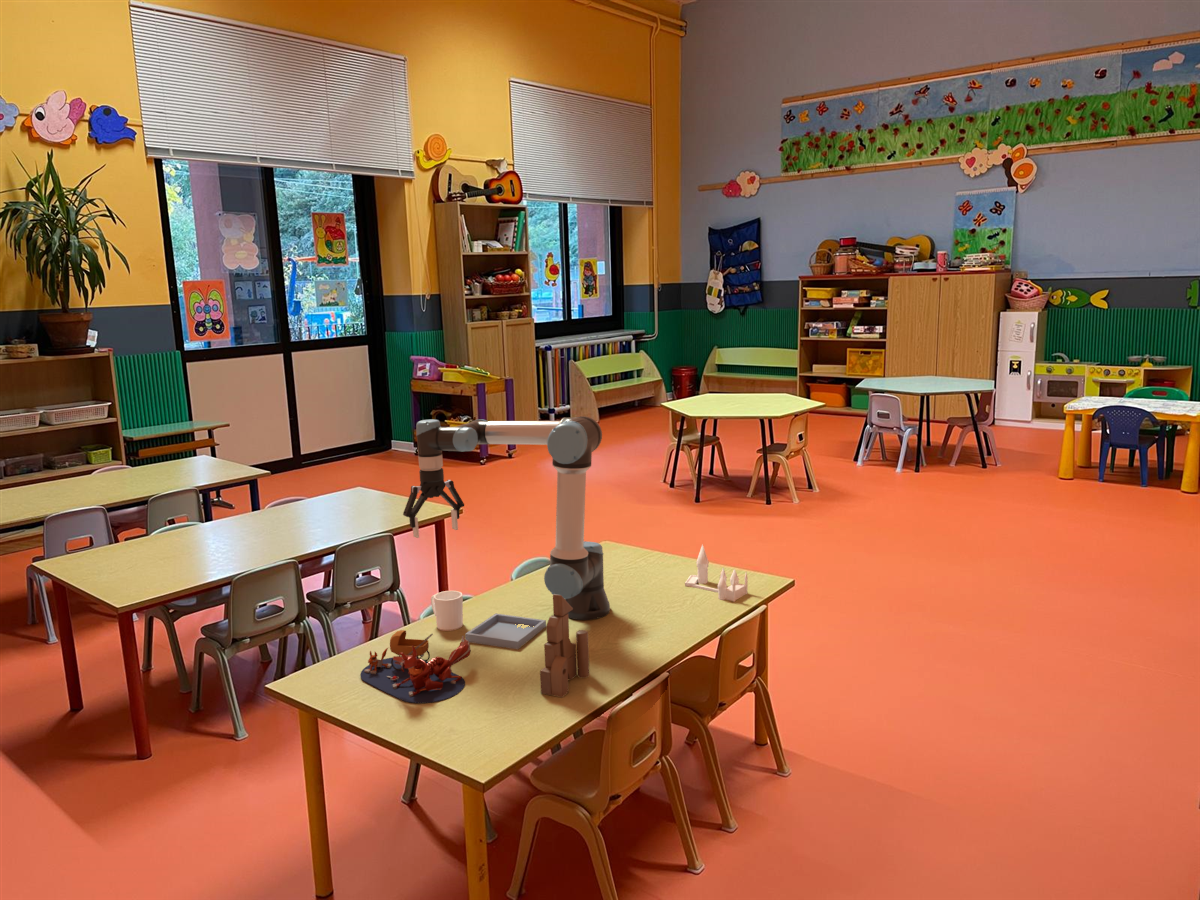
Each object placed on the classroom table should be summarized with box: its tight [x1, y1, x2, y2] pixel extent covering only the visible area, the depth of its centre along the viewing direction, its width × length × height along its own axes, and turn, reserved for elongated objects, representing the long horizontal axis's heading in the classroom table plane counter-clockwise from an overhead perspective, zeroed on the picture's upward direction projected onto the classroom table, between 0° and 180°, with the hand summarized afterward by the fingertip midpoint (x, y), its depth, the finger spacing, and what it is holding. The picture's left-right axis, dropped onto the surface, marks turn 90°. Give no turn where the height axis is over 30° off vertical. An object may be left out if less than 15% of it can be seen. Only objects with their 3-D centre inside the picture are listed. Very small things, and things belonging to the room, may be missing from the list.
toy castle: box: [684, 543, 749, 602], centre depth 300 cm, size 14×25×16 cm, turn 51°
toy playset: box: [359, 629, 472, 704], centre depth 245 cm, size 35×26×14 cm
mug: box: [430, 590, 464, 632], centre depth 280 cm, size 11×9×10 cm
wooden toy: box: [539, 594, 590, 698], centre depth 235 cm, size 16×7×25 cm, turn 152°
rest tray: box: [464, 613, 547, 650], centre depth 272 cm, size 18×18×3 cm
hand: (435, 533), depth 286 cm, fingers open, 13 cm apart
